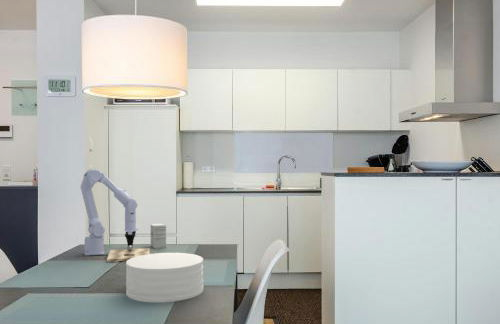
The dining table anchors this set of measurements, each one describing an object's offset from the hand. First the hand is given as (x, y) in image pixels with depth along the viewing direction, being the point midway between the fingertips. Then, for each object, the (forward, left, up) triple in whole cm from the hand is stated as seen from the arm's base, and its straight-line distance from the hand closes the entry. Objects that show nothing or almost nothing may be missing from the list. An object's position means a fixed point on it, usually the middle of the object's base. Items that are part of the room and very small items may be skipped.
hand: (130, 245), depth 246 cm
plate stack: (+15, -84, -3) cm, 85 cm away
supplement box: (+15, +6, -2) cm, 16 cm away
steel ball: (0, -11, +1) cm, 11 cm away
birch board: (0, -17, -2) cm, 17 cm away
